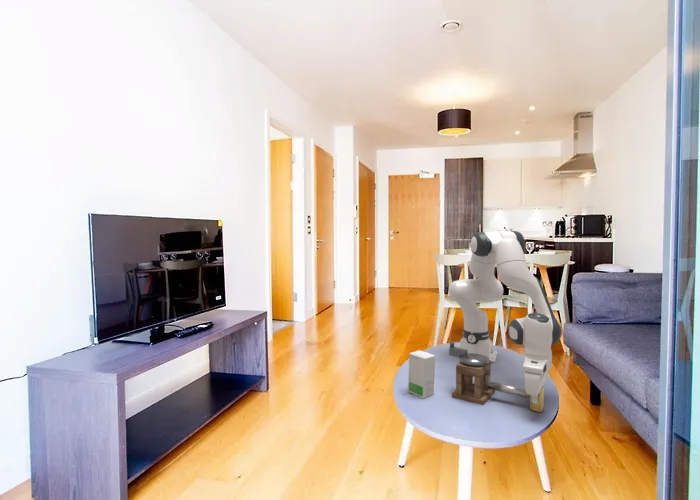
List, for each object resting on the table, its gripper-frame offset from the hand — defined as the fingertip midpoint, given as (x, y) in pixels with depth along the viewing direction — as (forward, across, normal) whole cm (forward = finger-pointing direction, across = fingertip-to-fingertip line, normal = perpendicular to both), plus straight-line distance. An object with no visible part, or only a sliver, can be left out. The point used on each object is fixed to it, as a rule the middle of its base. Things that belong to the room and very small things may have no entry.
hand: (537, 399), depth 141 cm
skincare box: (+4, +10, -40) cm, 41 cm away
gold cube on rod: (+3, 0, -8) cm, 9 cm away
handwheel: (-9, 0, -25) cm, 26 cm away
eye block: (+4, 0, -22) cm, 23 cm away
